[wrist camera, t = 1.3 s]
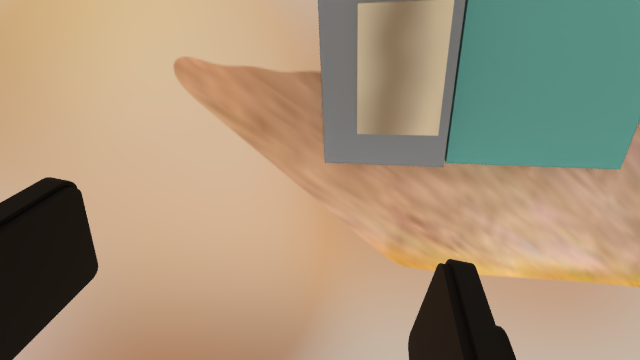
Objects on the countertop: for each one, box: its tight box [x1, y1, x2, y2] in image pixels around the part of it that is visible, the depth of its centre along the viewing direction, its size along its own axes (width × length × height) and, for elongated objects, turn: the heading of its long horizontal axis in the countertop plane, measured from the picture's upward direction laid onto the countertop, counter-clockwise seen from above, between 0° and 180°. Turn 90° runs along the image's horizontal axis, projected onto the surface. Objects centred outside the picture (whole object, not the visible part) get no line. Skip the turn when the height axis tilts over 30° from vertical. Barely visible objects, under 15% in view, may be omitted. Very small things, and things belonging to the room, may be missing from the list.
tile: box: [357, 0, 454, 136], centre depth 25 cm, size 6×9×2 cm, turn 3°
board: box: [318, 0, 465, 167], centre depth 27 cm, size 10×18×2 cm, turn 3°
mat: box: [445, 0, 640, 169], centre depth 25 cm, size 13×18×1 cm
